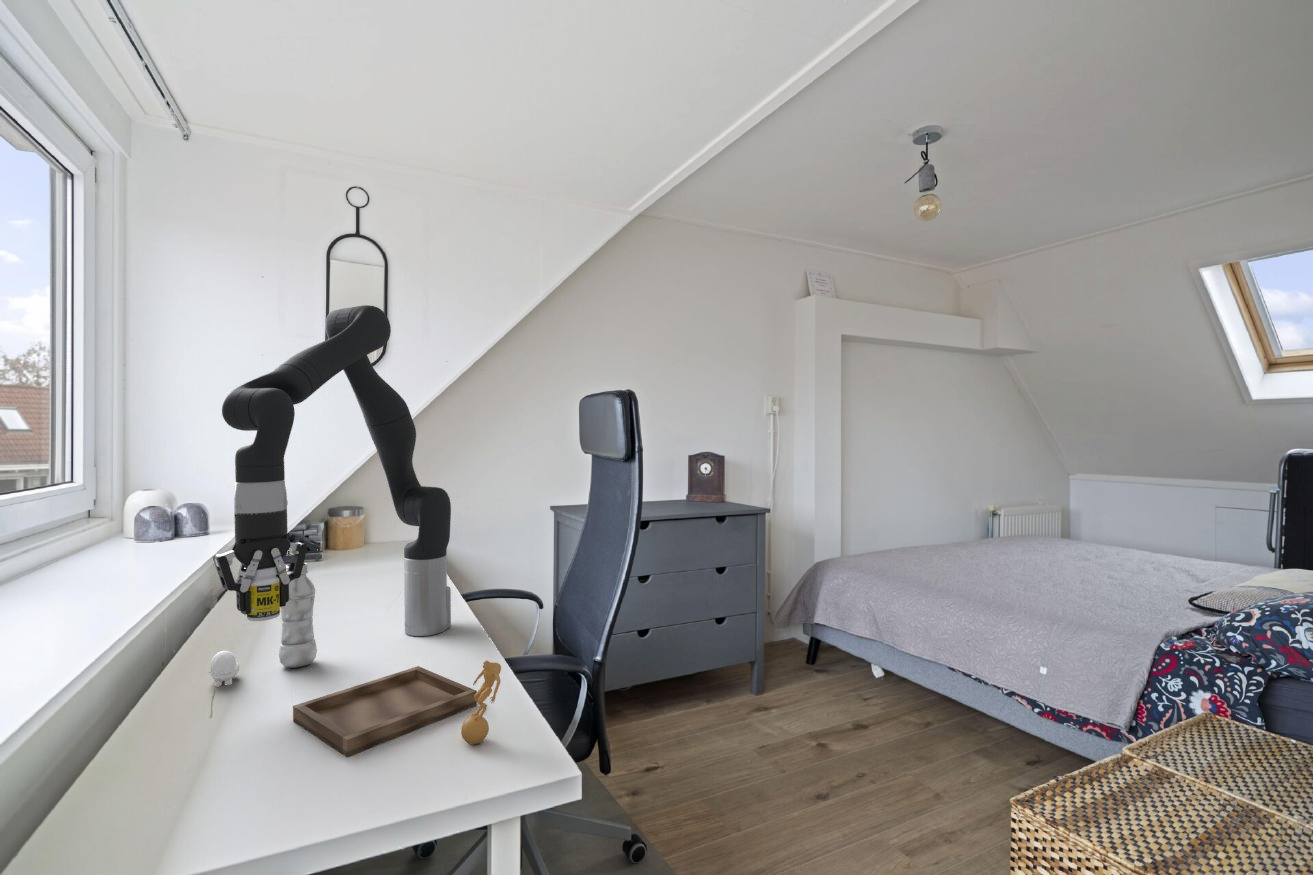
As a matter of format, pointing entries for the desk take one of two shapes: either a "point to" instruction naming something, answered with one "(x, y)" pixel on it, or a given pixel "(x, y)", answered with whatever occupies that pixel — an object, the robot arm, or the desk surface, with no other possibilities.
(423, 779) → the desk surface
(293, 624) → the plastic bottle
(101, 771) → the desk surface
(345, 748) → the walnut tray
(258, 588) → the supplement bottle
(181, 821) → the desk surface
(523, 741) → the desk surface
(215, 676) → the toy creature
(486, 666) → the figurine
